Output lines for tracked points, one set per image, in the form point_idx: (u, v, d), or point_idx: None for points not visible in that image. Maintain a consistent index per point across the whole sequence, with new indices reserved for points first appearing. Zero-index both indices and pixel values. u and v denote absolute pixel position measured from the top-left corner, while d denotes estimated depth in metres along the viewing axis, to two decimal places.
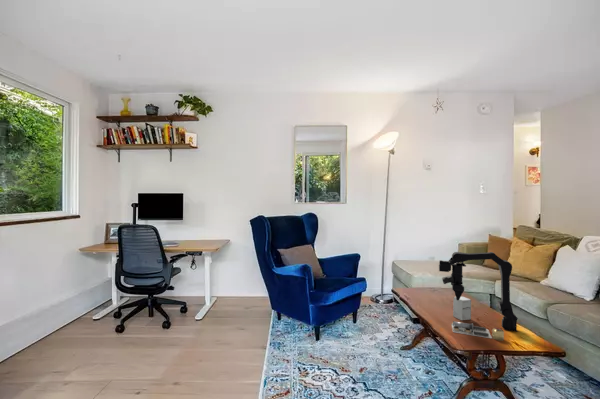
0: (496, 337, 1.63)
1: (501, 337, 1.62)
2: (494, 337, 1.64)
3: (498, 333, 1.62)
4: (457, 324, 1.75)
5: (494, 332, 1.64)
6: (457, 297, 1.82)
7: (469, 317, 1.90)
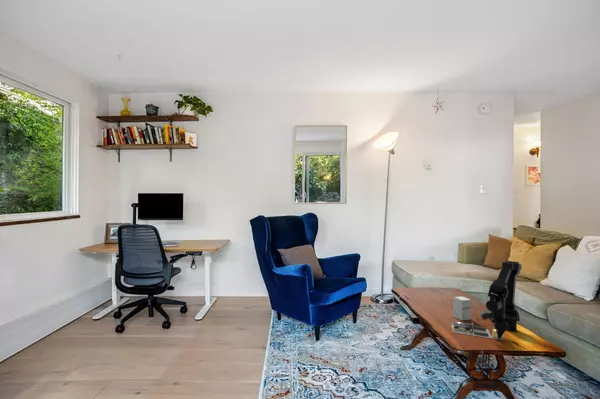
0: (496, 337, 1.63)
1: (501, 337, 1.62)
2: (494, 337, 1.64)
3: None
4: (457, 324, 1.75)
5: (494, 332, 1.64)
6: (499, 335, 1.61)
7: (469, 317, 1.90)
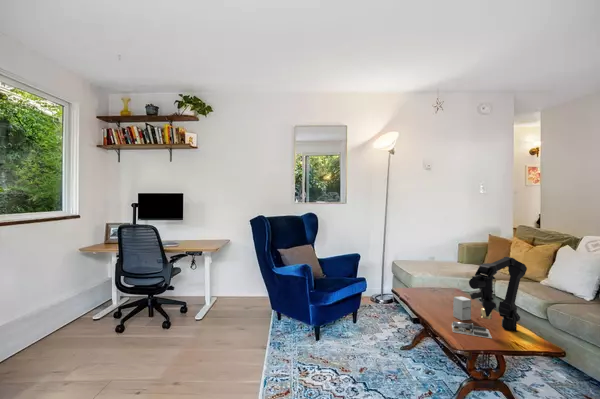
0: (484, 315, 1.69)
1: (489, 316, 1.68)
2: (482, 316, 1.70)
3: None
4: (457, 324, 1.75)
5: (482, 311, 1.70)
6: (487, 313, 1.67)
7: (469, 317, 1.90)
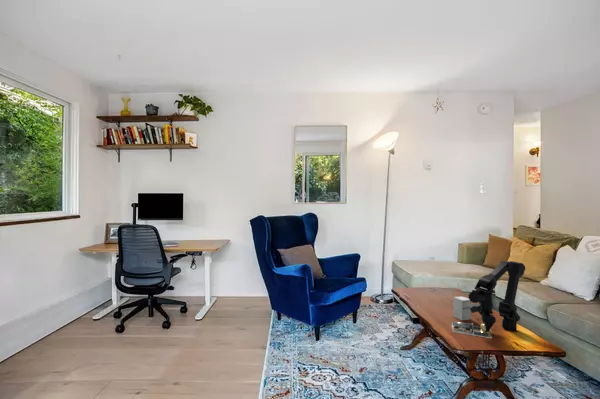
0: (484, 331, 1.69)
1: None
2: (482, 331, 1.70)
3: None
4: (457, 324, 1.75)
5: (482, 326, 1.70)
6: (487, 328, 1.66)
7: (469, 317, 1.90)
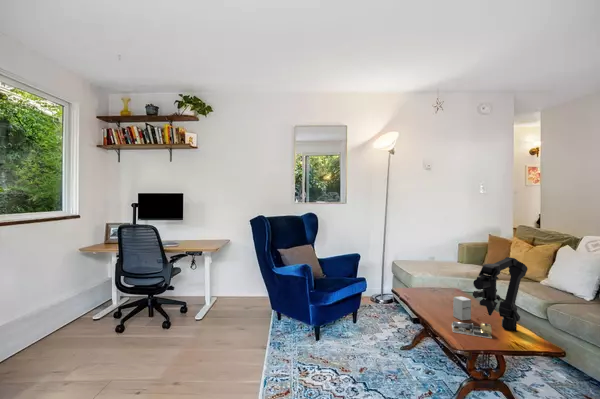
0: (484, 331, 1.69)
1: (488, 331, 1.68)
2: (482, 331, 1.70)
3: (486, 327, 1.68)
4: (457, 324, 1.75)
5: (482, 326, 1.70)
6: (489, 312, 1.69)
7: (469, 317, 1.90)
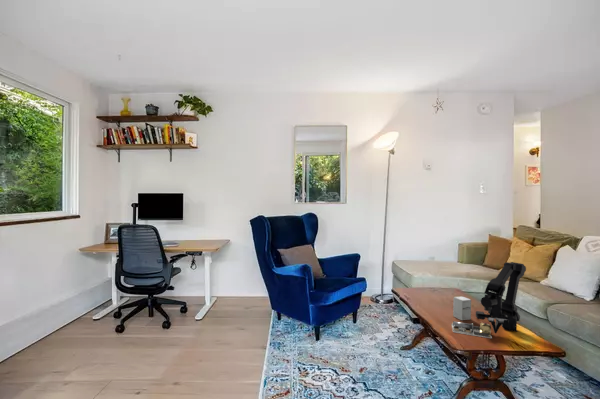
0: (483, 331, 1.69)
1: (488, 331, 1.68)
2: (481, 331, 1.70)
3: (485, 327, 1.69)
4: (457, 324, 1.75)
5: (481, 326, 1.70)
6: (493, 328, 1.69)
7: (469, 317, 1.90)
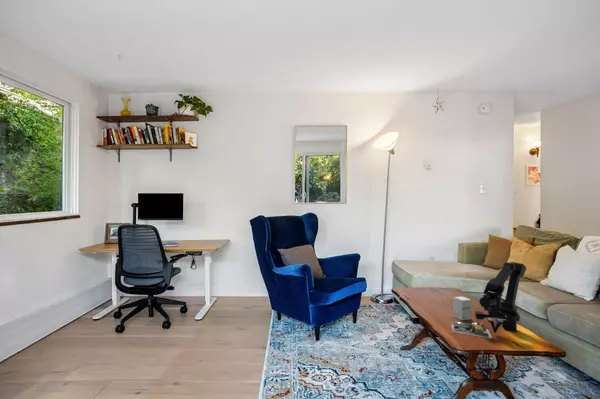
0: (476, 330, 1.70)
1: (480, 330, 1.69)
2: (474, 330, 1.71)
3: (478, 326, 1.70)
4: (457, 324, 1.75)
5: (474, 325, 1.71)
6: (492, 328, 1.70)
7: (469, 317, 1.90)
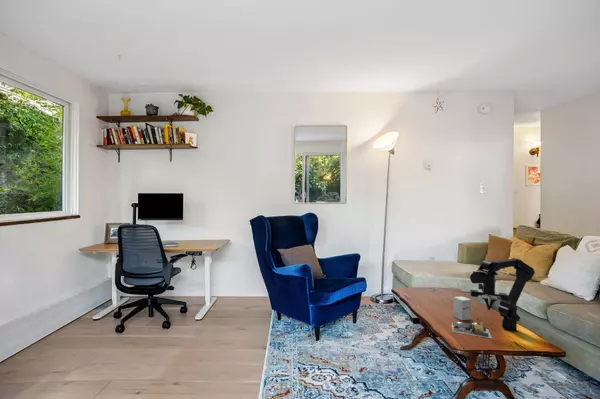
0: (476, 330, 1.70)
1: (480, 330, 1.70)
2: (474, 330, 1.71)
3: (478, 326, 1.70)
4: (457, 324, 1.75)
5: (474, 325, 1.71)
6: None
7: (469, 317, 1.90)
